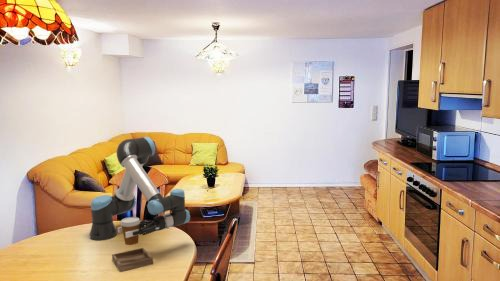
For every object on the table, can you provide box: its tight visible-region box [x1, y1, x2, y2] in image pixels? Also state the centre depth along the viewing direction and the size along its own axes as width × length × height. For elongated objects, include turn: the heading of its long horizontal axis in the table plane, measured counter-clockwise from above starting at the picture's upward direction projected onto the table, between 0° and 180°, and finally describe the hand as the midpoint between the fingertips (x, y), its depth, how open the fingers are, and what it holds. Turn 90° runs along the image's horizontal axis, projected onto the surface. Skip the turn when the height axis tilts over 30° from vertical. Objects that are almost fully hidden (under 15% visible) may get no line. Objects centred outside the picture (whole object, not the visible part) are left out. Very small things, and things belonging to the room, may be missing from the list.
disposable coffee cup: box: [120, 216, 141, 246], centre depth 202 cm, size 10×10×12 cm
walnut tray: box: [111, 247, 154, 273], centre depth 204 cm, size 16×16×3 cm
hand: (121, 232), depth 199 cm, fingers closed on disposable coffee cup, 8 cm apart
